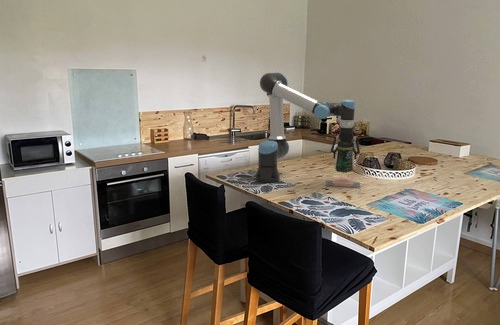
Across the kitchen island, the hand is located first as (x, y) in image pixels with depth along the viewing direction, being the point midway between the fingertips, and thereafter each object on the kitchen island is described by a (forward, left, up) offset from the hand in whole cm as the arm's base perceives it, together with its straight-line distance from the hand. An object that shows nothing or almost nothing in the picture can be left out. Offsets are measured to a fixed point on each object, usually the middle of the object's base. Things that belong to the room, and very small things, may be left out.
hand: (344, 164), depth 225 cm
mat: (0, 0, -12) cm, 12 cm away
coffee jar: (0, 0, -4) cm, 4 cm away
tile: (0, +6, -11) cm, 13 cm away
